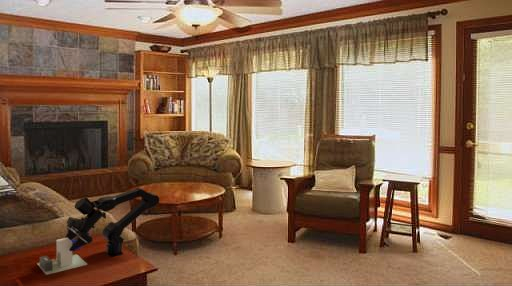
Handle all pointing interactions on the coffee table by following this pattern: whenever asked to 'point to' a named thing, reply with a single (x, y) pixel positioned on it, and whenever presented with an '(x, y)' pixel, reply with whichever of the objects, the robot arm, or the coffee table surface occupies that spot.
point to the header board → (59, 264)
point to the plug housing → (64, 251)
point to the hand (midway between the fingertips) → (66, 247)
